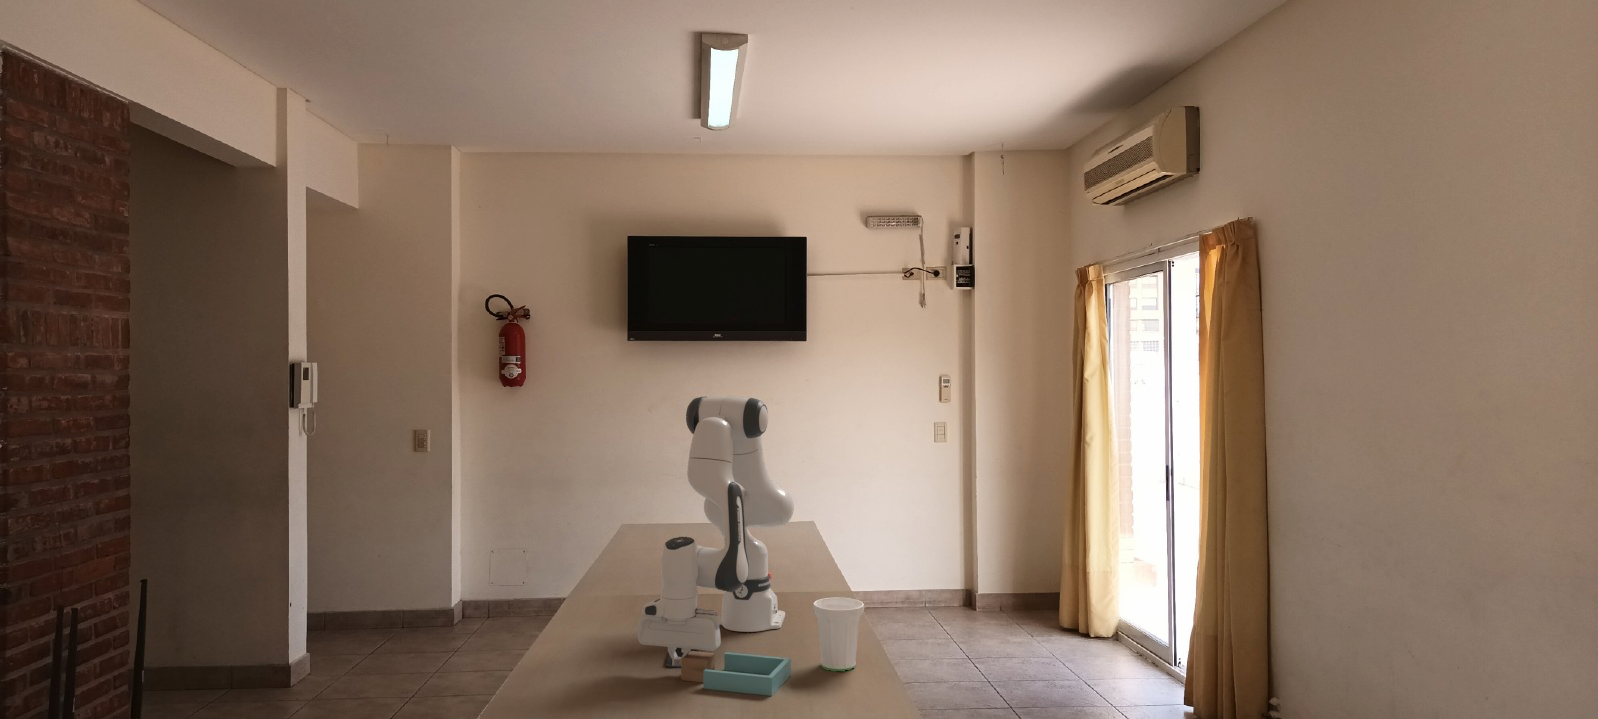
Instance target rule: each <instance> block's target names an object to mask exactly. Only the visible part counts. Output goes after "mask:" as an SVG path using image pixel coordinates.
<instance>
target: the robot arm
mask: <svg viewBox="0 0 1598 719" xmlns="http://www.w3.org/2000/svg"><path fill="white" fill-rule="evenodd" d="M685 421H686V427H687V429H688V430H689V432H690V433H691V434H692V440H691V443H690V447H689V452H688V453H689V454H688V462H687V471H686V472H687V481H688V483H689V485H690V487H691V488H692V489H693V490H694V491H695V492H696V493H698V494H699V495H701V496H702V497H703V498H704V502H703V510H704V511H703V512H704V514H705V517H706V518H707V520H708V521H709V522H710V523H711V524H712V525H713V526H715V527H716V529H717V530H718V531H719V532H720V534H721V535H722V537H723V538H724V540H723V541H724V547H723V548H716V547H708V546H703V545H699V544H697V542H696V540H695V539H694V538H693V537H691V536H690V537H689V536H677V537H672V538H670V539H669V540H667V541H666V542H665V543H664V545H663V546H662V547H663V548H662V552H661V561H660V581H661V585H662V586H661V592H660V598H658V599H654V600H652V601H651V600H650V601H649V602H647V603H645V604H644V605H643V606H641V608H640V613H641V617H640V618H639V621H638V628H637V641H638V642H639V643H640V644H641V645H644V646H645V645H647V646H656V647H666V648H667V654H668V653H669V654H670V656H671V658H672V665H673V666H681V658H683V657H684V656H686V655H687V654H688V653H689V652H690V649H695V650H700V651H707V652H714V651H716V650H717V649H718V648H719V647H720V646H721V644H722V643H721V642H722V640H721V630H720V626H722V627H723V628H724V629H725V630H729V631H733V632H740V633H743V632H744V633H745V632H746V633H750V632H751V633H753V632H755V633H756V632H762V631H768V630H775V629H776V630H777V629H781V627H782V625H783V622H784V620H785V617H786V612H785V611H783V610H780V609H778V596H777V594H775V593H774V591H773V589H771V580H772V576H773V575H772V572H769V551H768V548H767V546H766V545H765V544H764V542H762V541H761V540H759V539H758V538H755V537H754V536H753V535H752V533H750V530H749V527H750V528H753V527H754V528H775V527H776V528H777V527H781V526H785V525H787V524H788V523H789V522H790V521H791V519H792V517H793V514H794V509H795V508H794V501H793V498H792V497H791V495H790V494H789V492H787V491H786V490H784V489H783V488H782V487H780V486H779V485H778V484H777V483H776V482H775V481H774V480H773V479H772V478H771V476H770V474H769V472H768V470H767V468H766V463H765V457H764V452H763V450H764V449H763V442H762V435H763V434H764V433H765V432H766V430H767V428H768V423H769V412H768V407H767V406H766V404H765V403H764V402H763V400H760V399H758V398H753V397H749V398H748V397H740V396H732V395H731V396H730V395H727V396H709V397H707V396H699V397H695V398H693V399H692V400H691V401H690V402H689V404H688V406H687V408H686V414H685ZM697 587H700V588H707V589H715V590H716V589H717V590H718V591H722V592H723V591H724V592H725V593H723V594H722V595H723V596H722V603H721V616H720V614H718V613H717V612H716V610H713V609H703V608H699V592H698V588H697ZM677 648H682V653H684V654H683V655H682V657H678V656H677V654H676V652H675V650H676V649H677Z"/></svg>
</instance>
